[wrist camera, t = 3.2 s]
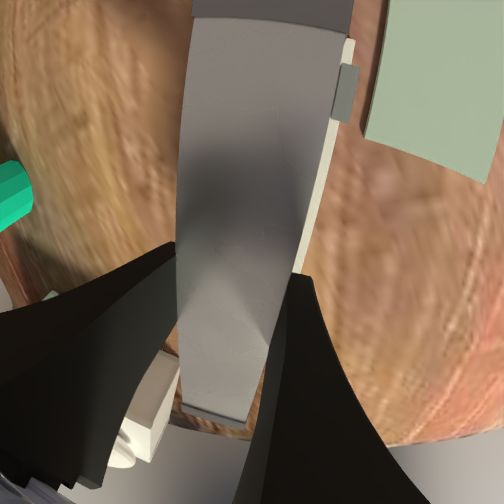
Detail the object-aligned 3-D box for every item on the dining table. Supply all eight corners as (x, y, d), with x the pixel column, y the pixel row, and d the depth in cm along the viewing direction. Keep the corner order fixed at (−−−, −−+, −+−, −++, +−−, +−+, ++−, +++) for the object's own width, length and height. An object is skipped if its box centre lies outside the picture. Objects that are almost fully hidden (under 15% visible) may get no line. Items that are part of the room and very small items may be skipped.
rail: (345, 24, 6) (354, -5, 3) (255, 389, 14) (243, 431, 12) (233, 8, 6) (197, -19, 4) (199, 373, 15) (182, 412, 12)
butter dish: (73, 363, 38) (25, 436, 25) (52, 285, 28) (-31, 381, 15) (170, 415, 38) (132, 502, 24) (185, 356, 28) (119, 495, 14)
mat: (507, -29, 4) (511, -31, 4) (480, 181, 13) (484, 184, 13) (394, -85, 5) (395, -89, 5) (363, 136, 14) (364, 138, 13)
